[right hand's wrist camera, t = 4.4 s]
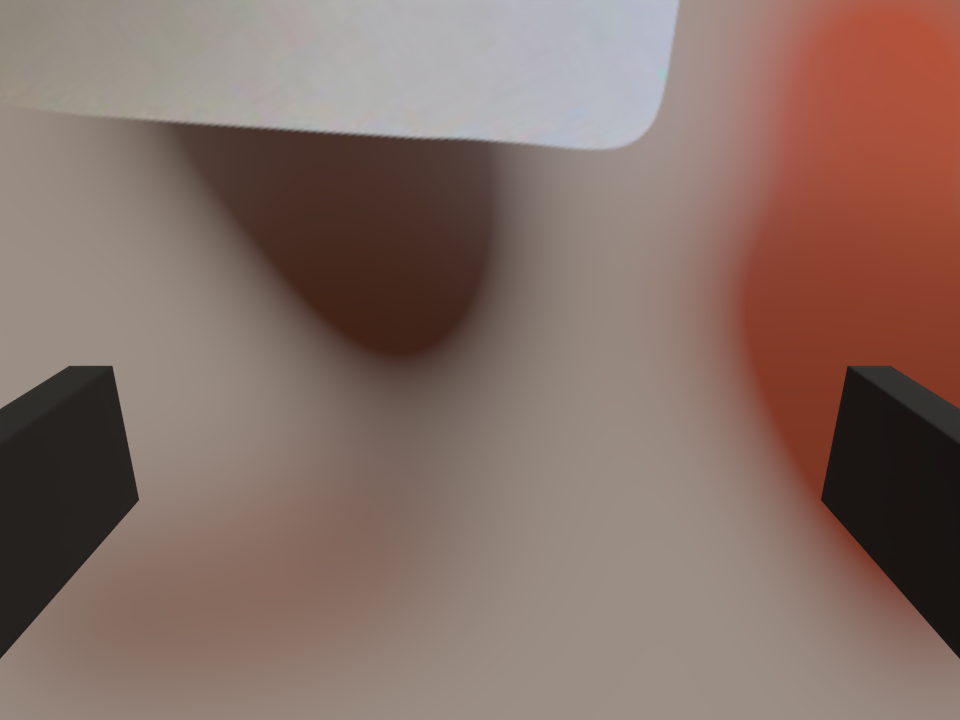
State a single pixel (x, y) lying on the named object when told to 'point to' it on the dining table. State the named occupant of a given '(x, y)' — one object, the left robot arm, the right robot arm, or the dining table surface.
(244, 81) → the dining table surface
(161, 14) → the dining table surface
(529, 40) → the dining table surface
